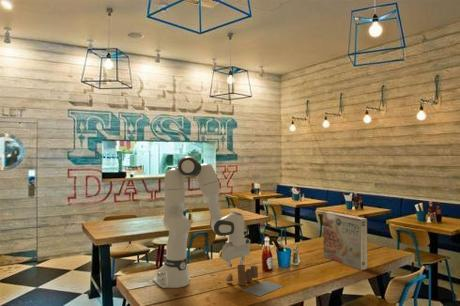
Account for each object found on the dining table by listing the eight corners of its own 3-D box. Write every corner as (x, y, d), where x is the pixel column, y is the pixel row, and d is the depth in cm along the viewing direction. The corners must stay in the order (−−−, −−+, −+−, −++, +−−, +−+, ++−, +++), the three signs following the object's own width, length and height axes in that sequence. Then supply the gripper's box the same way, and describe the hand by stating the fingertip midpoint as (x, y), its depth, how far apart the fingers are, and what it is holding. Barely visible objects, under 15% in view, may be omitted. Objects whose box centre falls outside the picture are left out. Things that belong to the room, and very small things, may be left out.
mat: (242, 290, 188) (242, 290, 188) (266, 281, 203) (266, 280, 203) (259, 296, 180) (259, 296, 180) (283, 286, 194) (283, 286, 194)
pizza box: (323, 259, 245) (323, 212, 246) (329, 258, 248) (329, 211, 248) (360, 272, 217) (360, 219, 217) (367, 271, 220) (366, 218, 220)
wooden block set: (254, 278, 207) (253, 260, 208) (261, 282, 199) (260, 263, 200) (225, 283, 200) (224, 264, 201) (232, 287, 192) (231, 267, 193)
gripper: (227, 244, 195) (226, 270, 195) (252, 239, 210) (251, 263, 209) (219, 242, 200) (218, 267, 200) (244, 237, 214) (243, 261, 214)
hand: (235, 265), depth 205 cm, fingers open, 8 cm apart
